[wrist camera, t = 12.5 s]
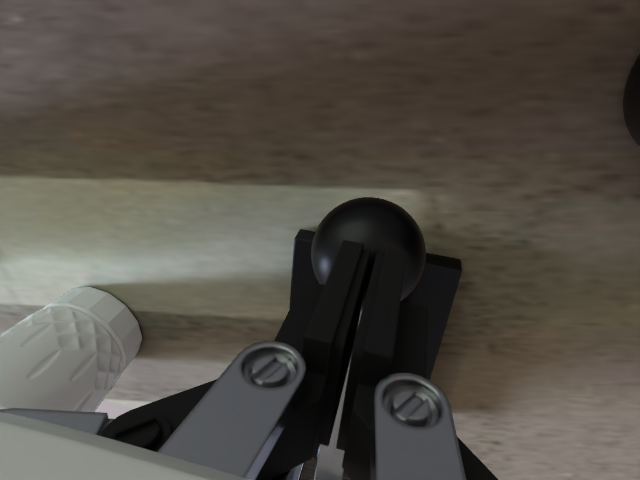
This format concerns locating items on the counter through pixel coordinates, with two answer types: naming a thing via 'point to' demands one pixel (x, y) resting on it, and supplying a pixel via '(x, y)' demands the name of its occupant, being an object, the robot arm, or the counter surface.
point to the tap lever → (376, 234)
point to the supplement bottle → (633, 101)
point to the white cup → (68, 352)
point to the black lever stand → (430, 292)
